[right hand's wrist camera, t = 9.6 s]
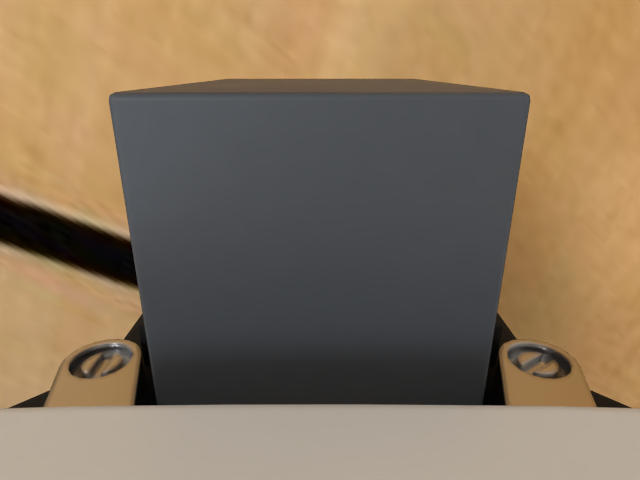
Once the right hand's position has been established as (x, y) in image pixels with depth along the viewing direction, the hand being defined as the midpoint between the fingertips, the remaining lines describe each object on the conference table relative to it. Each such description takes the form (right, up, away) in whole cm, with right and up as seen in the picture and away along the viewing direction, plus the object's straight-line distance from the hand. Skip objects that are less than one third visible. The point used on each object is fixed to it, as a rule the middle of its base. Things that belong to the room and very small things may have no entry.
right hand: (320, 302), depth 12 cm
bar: (0, -23, +11) cm, 26 cm away
